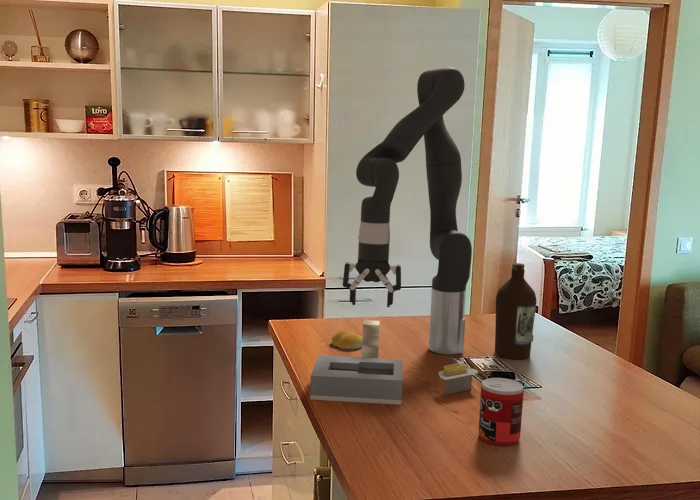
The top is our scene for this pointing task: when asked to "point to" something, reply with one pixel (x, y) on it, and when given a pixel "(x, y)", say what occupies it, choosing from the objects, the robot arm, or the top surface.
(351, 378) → the keyhole plate
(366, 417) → the top surface
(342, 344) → the bread roll
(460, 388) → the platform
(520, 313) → the olive oil
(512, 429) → the canned food
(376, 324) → the maple peg
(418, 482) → the top surface
